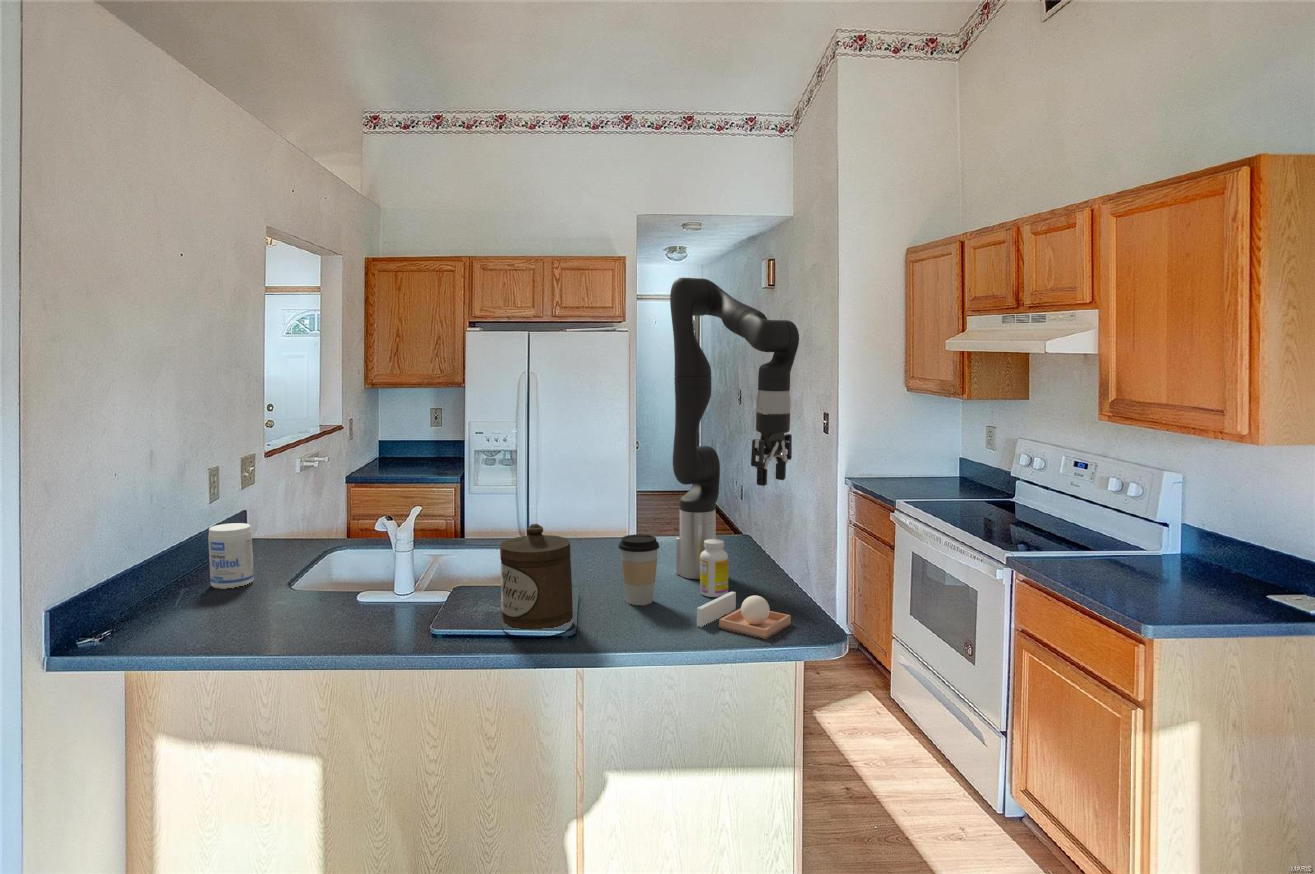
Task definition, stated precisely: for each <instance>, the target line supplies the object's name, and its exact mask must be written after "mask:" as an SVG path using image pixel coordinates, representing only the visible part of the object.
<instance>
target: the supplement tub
mask: <svg viewBox="0 0 1315 874" xmlns="http://www.w3.org/2000/svg"><path fill="white" fill-rule="evenodd" d="M252 538H253V535H252V527H251V524H249V523H244V522H236V523H235V522H232V523H231V522H230V523H229V522H228V523H222V524H217V525H213V526H211V527H209V528H208V541H207V542H208V556H209V557H208V558H209V579H210V585H211V587H212V588H215V589H218V588H219V590H220V589H221V590H228V589H227V588H232V589H235V588H234V587H237V588H240V587H239V586H243V587H245V586H244V585H246V586H248V585H250V584H252V583H253V582H254V562H253V561H254V560H253V559H254V558H253V557H254V556H253V539H252ZM251 582H252V583H251ZM249 583H250V584H249ZM247 584H248V585H247Z"/></svg>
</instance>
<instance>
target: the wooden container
mask: <svg viewBox="0 0 1315 874" xmlns="http://www.w3.org/2000/svg"><path fill="white" fill-rule="evenodd" d="M543 532H544V527H543V526H541V525H540V524H538V523H532V524H530V525H529V526H528V527H526V533H527V535H524V536H517V537H512V538H508V539H506V540H503V541H502V542H501V543H500V545H499V554H500V555H499V556H500V557H499V559H500V575H501V576H500V579H501V580H500V582H501V583H500V584H501V585H500V587H501V589H500V591H501V592H500V593H501V599H500V600H501V601H500V602H501V619H502V620H503V622H504V623H505V624H507V625H508V626H510V627H512V628H519V629H542V628H554V627H558V626H561V625H563V624H565V623H568V622H570V621H571V619H572V618H573V619H574V613H573V611H574V610H573V584H572V582H573V580H572V564H571V562H572V561H571V556H572V555H571V542H570V539H568V538H566V537H563V536H558V535H552V534H550V535H548V534H545V535H544V534H543Z"/></svg>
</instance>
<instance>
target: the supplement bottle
mask: <svg viewBox="0 0 1315 874" xmlns="http://www.w3.org/2000/svg"><path fill="white" fill-rule="evenodd" d="M704 546H705V550H704V551H703V552H702V553H701V554H700V579H699V580H700V581H699V583H700V584H699V585H700V587H699V588H700V589H699V590H700V591H699V592H700V595H703V596H704V597H708V598H719V597H721V596H723V595H725V594H727V593H729V554H728V553H727V552H726V551H725V550H724V547H725V541H724V540H722V539H718V538H715V539H708V540H705V541H704Z"/></svg>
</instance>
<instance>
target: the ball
mask: <svg viewBox="0 0 1315 874" xmlns="http://www.w3.org/2000/svg"><path fill="white" fill-rule="evenodd" d="M740 608H741V614H742V616H743V618H744V619H745V620H746V621H747V622H748V623H750V624H754V625H758V624H761V623H763V622H764V621H766V619H767V618H768V616H769V613H770V611H771V610H770V605H769V603H768V601H767V600H766V599H765V598H764V597H762V596H759V595H750V596H747V597H746V598H745V599H744V600H743V602H742V603H741V607H740Z"/></svg>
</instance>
